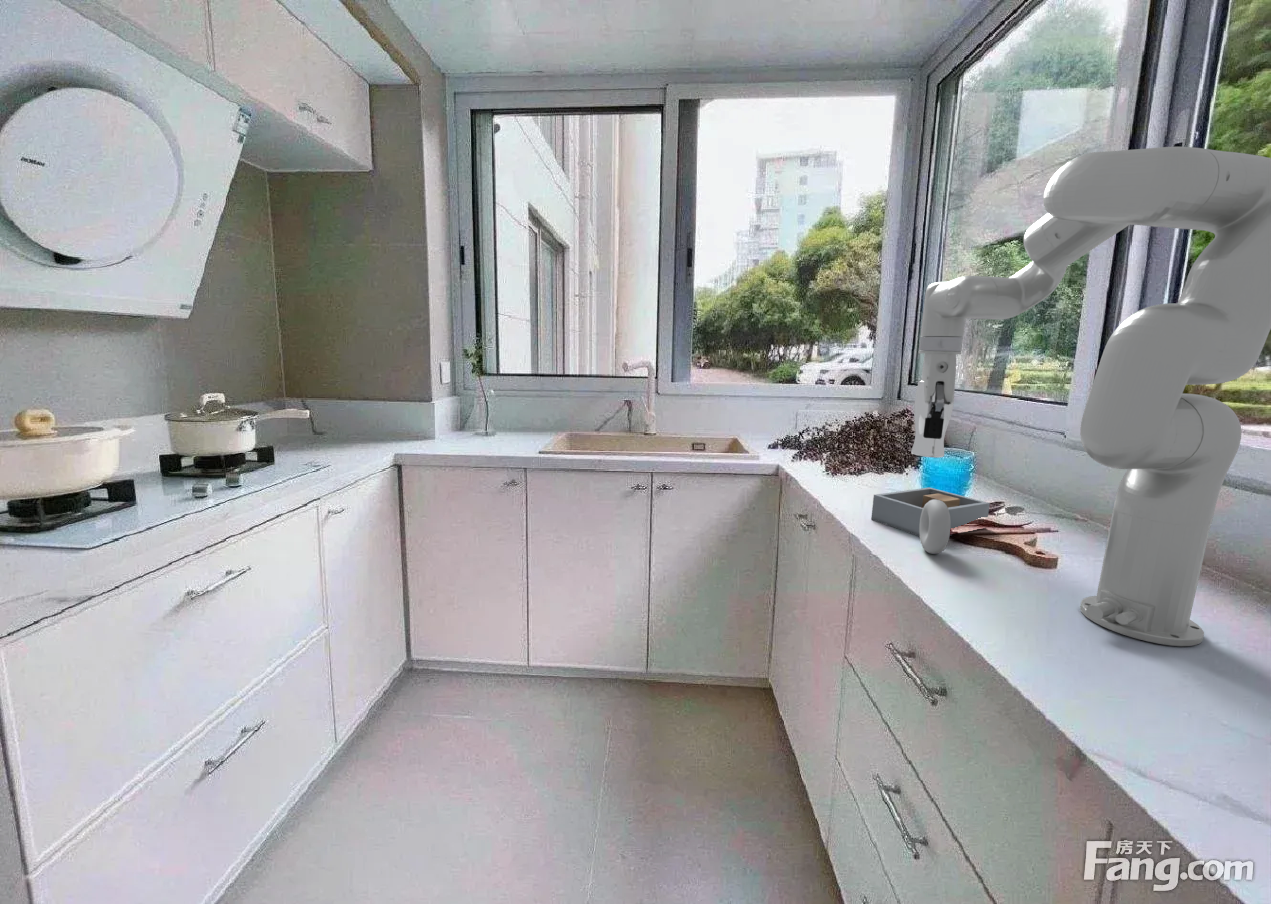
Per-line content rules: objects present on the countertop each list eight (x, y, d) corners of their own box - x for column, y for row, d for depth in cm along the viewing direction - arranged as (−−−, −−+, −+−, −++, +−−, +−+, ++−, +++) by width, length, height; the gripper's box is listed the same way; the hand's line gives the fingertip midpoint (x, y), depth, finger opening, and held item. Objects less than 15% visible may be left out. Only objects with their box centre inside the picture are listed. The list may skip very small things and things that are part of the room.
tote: (928, 539, 109) (932, 512, 108) (871, 519, 121) (873, 494, 120) (986, 528, 116) (989, 503, 115) (926, 510, 129) (929, 487, 128)
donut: (948, 563, 97) (956, 508, 95) (927, 561, 97) (934, 506, 96) (934, 544, 106) (941, 494, 104) (914, 542, 107) (921, 492, 105)
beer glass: (951, 459, 110) (961, 383, 107) (913, 456, 111) (922, 382, 108) (940, 452, 116) (949, 381, 114) (904, 450, 118) (913, 380, 115)
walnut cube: (957, 521, 119) (960, 499, 118) (941, 524, 117) (944, 501, 116) (935, 514, 123) (938, 493, 123) (920, 517, 121) (923, 495, 120)
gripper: (971, 346, 100) (958, 443, 104) (953, 347, 116) (942, 431, 120) (925, 345, 103) (914, 440, 106) (913, 346, 119) (904, 429, 122)
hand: (929, 434), depth 113 cm, fingers closed on beer glass, 6 cm apart
